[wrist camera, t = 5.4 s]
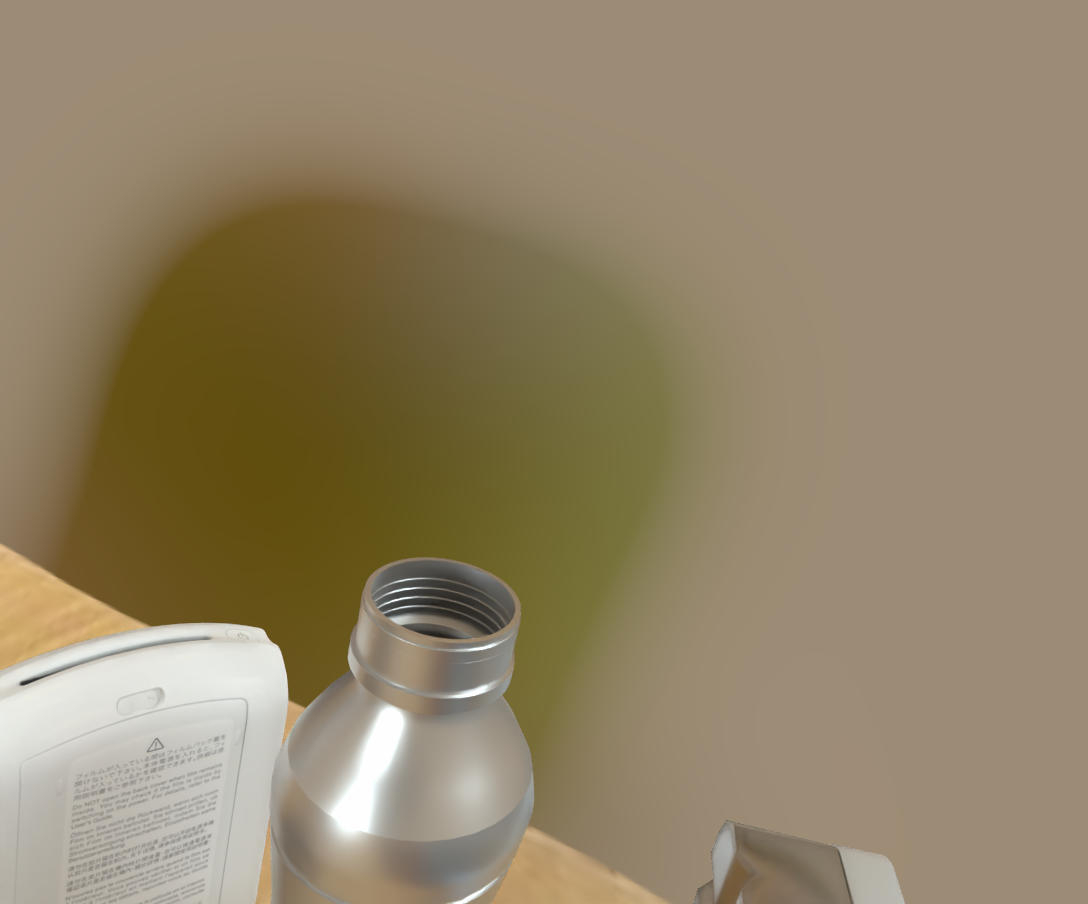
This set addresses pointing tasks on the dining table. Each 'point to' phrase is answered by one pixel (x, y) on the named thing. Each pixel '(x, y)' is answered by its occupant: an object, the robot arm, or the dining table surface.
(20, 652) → the dining table surface
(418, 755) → the aluminum water bottle
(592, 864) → the dining table surface
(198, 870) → the photo printer
